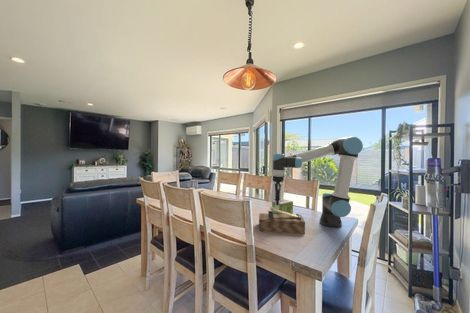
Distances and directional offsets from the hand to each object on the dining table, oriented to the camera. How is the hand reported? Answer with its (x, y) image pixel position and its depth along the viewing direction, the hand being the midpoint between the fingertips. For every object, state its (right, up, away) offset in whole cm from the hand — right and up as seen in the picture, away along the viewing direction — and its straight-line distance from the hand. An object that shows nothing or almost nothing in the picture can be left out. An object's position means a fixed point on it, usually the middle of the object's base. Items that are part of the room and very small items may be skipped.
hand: (277, 209), depth 146 cm
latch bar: (+5, -3, -1) cm, 6 cm away
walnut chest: (+3, -14, 0) cm, 14 cm away
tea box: (+8, -13, +19) cm, 25 cm away
